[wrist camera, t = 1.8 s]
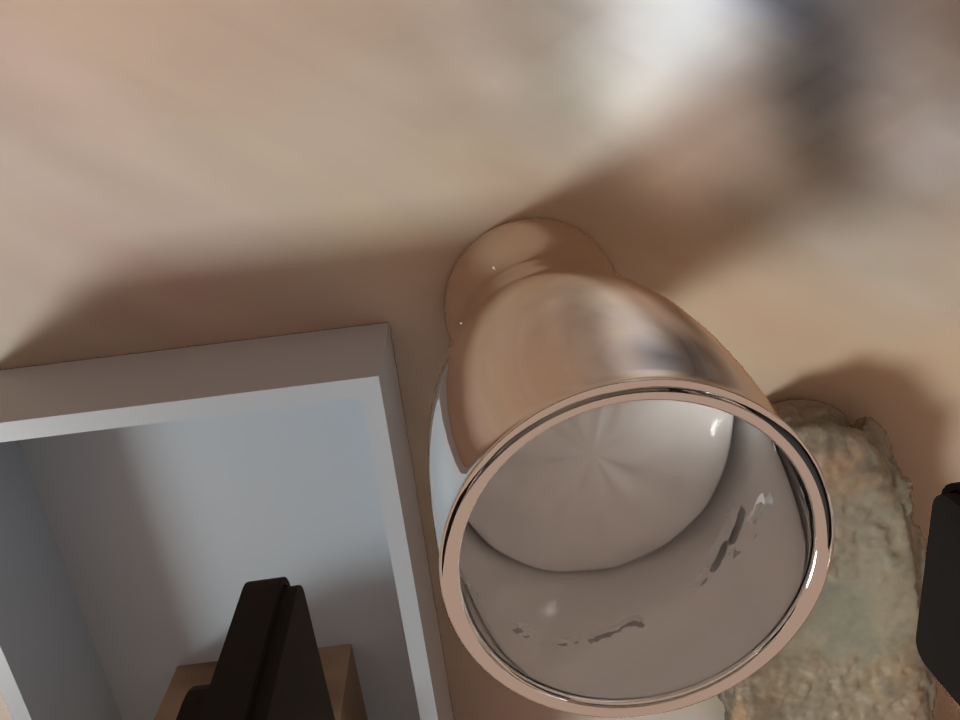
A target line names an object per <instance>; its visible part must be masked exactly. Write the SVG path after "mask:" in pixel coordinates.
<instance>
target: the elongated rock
mask: <svg viewBox="0 0 960 720" xmlns="http://www.w3.org/2000/svg"><path fill="white" fill-rule="evenodd" d="M772 405H773V407H774V408H775V409H776V411H777V412H778V413H779V415H780V416H781V418H782V419H783V420H784V422H785V423H786V424H788V425H789V426H790V427H791V428H792V429H793V430H794V431H795V432H796V433H797V434H798V435H799V437H800V438H801V439H802V440H803V441H804V443H805V444H806V445H807V446H808V448H809V449H810V451H811V452H812V454H813V455H814V457H815V459H816V460H817V462H818V464H819V466H820V468H821V470H822V472H823V474H824V477H825V479H826V482H827V484H828V488H829V491H830V494H831V498H832V503H833V508H834V517H835V542H834V551H833V557H832V562H831V566H830V570H829V573H828V576H827V579H826V582H825V585H824V588H823V590H822V592H821V595H820V597H819V599H818V601H817V603H816V605H815V607H814V608H813V610H812V612H811V613H810V615H809V617H808V618H807V620H806V621H805V623H804V624H803V625H802V627H801V628H800V630H799V631H798V632H797V633H796V635H795V636H794V637H793V638H792V639H791V641H790V642H789V643H788V644H787V645H786V646H785V647H784V648H783V649H782V650H781V651H780V652H779V653H778V654H777V655H776V656H775V657H774V658H773V659H771V660H770V661H769V662H768V663H767V664H766V665H764V666H763V667H762V668H761V669H759V670H758V671H757V672H755V673H754V674H752V675H751V676H750V677H748V678H746V679H745V680H743V681H742V682H740V683H738V684H737V685H735V686H733V687H731V688H730V689H728V690H726V691H724V692H722V693H720V694H718V698H719V699H720V700H721V701H722V702H723V704H724V706H725V720H934V719H933V715H932V712H933V709H934V703H935V696H936V693H937V689H936V682H937V680H936V678H935V677H934V675H933V674H932V673H931V671H930V670H929V669H928V668H927V667H926V665H925V664H924V663H923V661H922V659H921V657H920V655H919V653H918V650H917V646H916V631H917V623H918V615H919V607H920V600H921V592H922V584H923V576H924V568H925V560H926V554H925V551H926V547H927V546H926V540H925V538H924V537H923V535H922V533H921V530H920V527H918V526H916V525H914V523H913V521H912V510H913V502H912V500H911V495H910V493H911V492H912V490H913V486H912V483H911V481H910V479H909V478H907V477H904V476H902V473H901V469H900V468H899V467H898V466H897V462H896V460H895V459H894V457H893V455H892V453H891V449H892V448H891V444H890V441H889V439H888V437H887V432H886V431H885V430H884V429H883V428H882V426H880V425H879V424H878V423H877V422H876V421H875V420H873V418H871V417H863V418H861V419H858V420H857V421H856V422H855V423H854V424H853V425H852V426H851V425H850V424H849V423H848V421H847V419H846V417H845V416H844V414H843V413H842V412H841V411H839V410H838V409H837V408H835V407H833V406H832V405H829V404H823V403H821V402H818V401H815V400H801V399H788V400H786V401H783V402H777V403H773V404H772Z"/></svg>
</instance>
